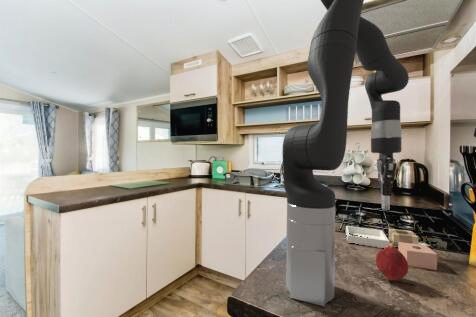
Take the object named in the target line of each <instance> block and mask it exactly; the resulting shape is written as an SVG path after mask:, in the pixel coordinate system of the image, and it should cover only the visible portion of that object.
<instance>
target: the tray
mask: <svg viewBox="0 0 476 317" xmlns="http://www.w3.org/2000/svg"><path fill="white" fill-rule="evenodd" d="M349 233H350V234H353V235H358V236H352V235H350V234H349ZM346 235H347V237H346V242H347V241H348V243H355V244H359V245H358V246H362V245H365V246H364V247H368V246H371V248H375V247H377V249H382V248H387V247H388V246H389V244H390V241H389V237H387V235H386V233H385V232H384V231H383V230H382V229H375V228H366V227H359V226H350V225H345V236H346ZM360 236H362V237H360ZM367 237H368V238H367ZM348 243H347V244H348ZM355 244H354V245H355Z"/></svg>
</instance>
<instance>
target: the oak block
mask: <svg viewBox="0 0 476 317" xmlns="http://www.w3.org/2000/svg"><path fill="white" fill-rule="evenodd" d="M388 240H389V241H390V242H391V243H392V244H393V245H394V246H396V247H398V242H403V243H412V244H419V236H418V235H416V234H415V233H414V232H413V231H412V230H406V229H396V228H388Z"/></svg>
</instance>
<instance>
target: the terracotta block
mask: <svg viewBox="0 0 476 317" xmlns="http://www.w3.org/2000/svg"><path fill="white" fill-rule="evenodd" d="M397 250H398V251H400V252H401V253H402V254H403V255H404V257H405V258H406V260H407V263H408V267H414V268H421V269H427V270H433V271H437V270H438V253H436V252H435V251H434V250H432V248H430V247H428V246H427V245H426V244H420V243H418V244H412V243H403V242H398V248H397Z"/></svg>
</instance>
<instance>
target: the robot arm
mask: <svg viewBox="0 0 476 317" xmlns="http://www.w3.org/2000/svg"><path fill="white" fill-rule="evenodd" d="M320 2H321V3H322V5H323V6H324V7H325V9H326V10H327V11H326V13H325V14H324V15H323V17H322V18H321V20H320V22H319V24H318V25H317V27H316V29H315V31H314V33H313V36H312V38H311V42H310V45H309V50H308V52H309V53H308V57H307V66H306V68H307V72H308V76H309V77H310V79H311V81H312V83H313V85H314V86H315V89H317V92H318V94H319V95H320V99H321V113H320V116H319V121H318V122H316V123H310V124H309V123H308V124H303V125H296V126H293V127H290V128H289V129H288V130H287V132H286V133H285V135H284V137H283V142H282V151H281V152H282V174H283V175H282V176H283V178H282V180H283V188H284V191H285V194H286V247H285V248H286V254H285V255H286V258H285V259H286V264H285V271H286V272H285V274H286V276H285V279H286V280H285V286H286V290H287V291H288V292H289V298H291V299H294V300H297V301H303V302H306V303H309V304H313V305H316V306H321V307H326V304H327V303H328V302H331V301H332V300H333V299H334V297H335V283H336V282H335V279H336V278H335V276H336V275H335V274H336V272H335V270H336V268H335V267H336V264H335V263H336V261H335V260H336V259H335V258H336V257H335V256H336V250H335V249H336V193H335V192H334V190H333V189H331V188H329V187H327V186H325V185H324V184H322V183H321V182H320V181H318V180H317V179H316V178H315V176H314V171H325V172H326V171H335V170H337V169H338V168H339V167H340V166H341V165H342V163H343V161H344V157H345V154H346V149H347V140H348V139H347V138H348V117H349V113H348V112H349V98H350V89H351V83H352V77H353V69H354V65H355V64H354V63H355V58H356V56H357V58H358V61H359V62H360V65H361V66H362V68H363V69H364V70H365V71H366V72H373V73H370V74H369V75H368V76H367V77H366V79H365V83H364V88H365V91H366V94H367V97H368V100H369V104H370V108H371V127H370V128H371V129H370V152H371V153H372V154H378V158H377V159H376V170H377V179H378V181H379V182H380V184H379V186H380V191H379V192H380V195H381V196H382V195H384V196H390V197H391V196H392V184H393V183H394V182H395V178H396V172H397V167H398V164H397V162H396V159H394V153H395V154H401V153H402V124H401V103H400V101H398V100H394V99H393V100H392V99H391V100H387V99H386V100H385V99H383V97H382V95H387V94H392V93H396V92H400V91H403V90H404V89H405V88H406V87H407V86H408V84H409V80H410V79H409V77H410V76H409V73H408V70H407V69H406V67H405V66H404V65H403V64H402V63H401V62H400V61H399V60H398V59H397V58H396V57H395V55H394V54H393V53H392V51H391V50H390V48H389V45H388V42H387V40H386V37H385V34H384V33H383V31H382V30H381V28H379V27H378V26H377V25H376V24H374V23H373V22H372V21H369V20H367V19H366V18H364V17H362V16H361V15H362V10H363V5H364V2H365V0H320ZM387 175H388V176H390V177H386V176H387Z"/></svg>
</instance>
